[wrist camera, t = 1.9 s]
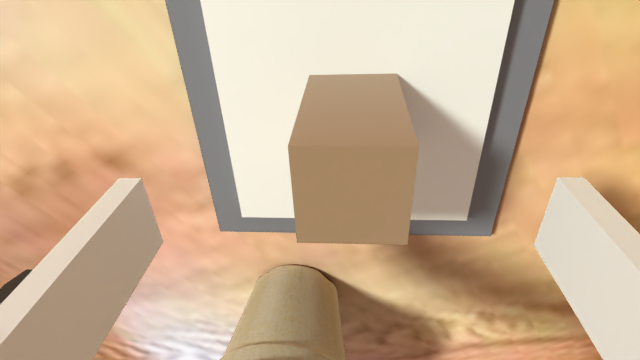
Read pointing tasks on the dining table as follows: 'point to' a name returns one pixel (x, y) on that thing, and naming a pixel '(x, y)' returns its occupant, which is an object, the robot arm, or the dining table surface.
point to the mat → (487, 192)
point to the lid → (356, 109)
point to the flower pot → (289, 319)
